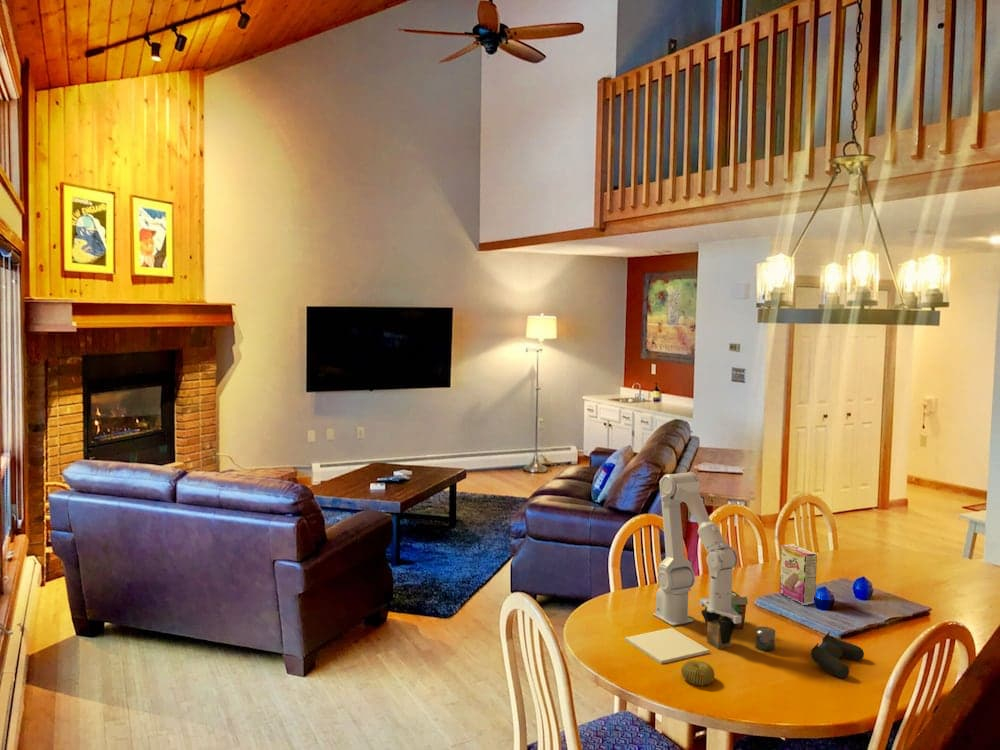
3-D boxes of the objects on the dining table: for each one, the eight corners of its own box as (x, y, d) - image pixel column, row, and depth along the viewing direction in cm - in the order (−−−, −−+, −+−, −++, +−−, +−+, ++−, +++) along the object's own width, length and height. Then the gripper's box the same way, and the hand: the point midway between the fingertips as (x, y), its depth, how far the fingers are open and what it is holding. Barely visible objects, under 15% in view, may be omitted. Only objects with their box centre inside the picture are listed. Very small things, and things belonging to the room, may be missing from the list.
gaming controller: (855, 665, 211) (823, 638, 216) (868, 651, 208) (835, 623, 213) (836, 688, 198) (802, 659, 203) (850, 673, 196) (815, 643, 201)
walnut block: (706, 642, 218) (707, 621, 218) (719, 639, 220) (720, 619, 220) (718, 649, 214) (718, 627, 214) (730, 646, 216) (731, 625, 216)
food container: (703, 618, 236) (704, 585, 235) (720, 615, 238) (721, 583, 237) (728, 634, 224) (730, 599, 223) (746, 631, 226) (748, 597, 226)
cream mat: (625, 640, 219) (625, 637, 219) (671, 630, 226) (671, 627, 226) (660, 664, 205) (660, 661, 205) (709, 652, 212) (709, 649, 212)
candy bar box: (778, 594, 256) (780, 544, 255) (790, 592, 258) (792, 543, 256) (803, 606, 246) (805, 554, 244) (815, 604, 247) (818, 553, 246)
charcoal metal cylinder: (751, 646, 217) (752, 628, 216) (765, 642, 219) (765, 625, 218) (764, 653, 212) (765, 635, 212) (778, 649, 214) (779, 632, 214)
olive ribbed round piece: (721, 665, 196) (703, 675, 191) (720, 681, 196) (702, 691, 191) (693, 654, 202) (675, 664, 196) (692, 670, 202) (674, 679, 197)
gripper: (691, 584, 221) (690, 632, 222) (727, 602, 208) (726, 652, 209) (711, 581, 224) (709, 627, 225) (748, 598, 211) (746, 647, 212)
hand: (719, 639), depth 217 cm, fingers closed on walnut block, 4 cm apart
